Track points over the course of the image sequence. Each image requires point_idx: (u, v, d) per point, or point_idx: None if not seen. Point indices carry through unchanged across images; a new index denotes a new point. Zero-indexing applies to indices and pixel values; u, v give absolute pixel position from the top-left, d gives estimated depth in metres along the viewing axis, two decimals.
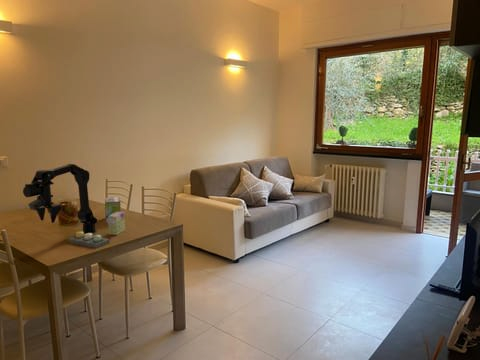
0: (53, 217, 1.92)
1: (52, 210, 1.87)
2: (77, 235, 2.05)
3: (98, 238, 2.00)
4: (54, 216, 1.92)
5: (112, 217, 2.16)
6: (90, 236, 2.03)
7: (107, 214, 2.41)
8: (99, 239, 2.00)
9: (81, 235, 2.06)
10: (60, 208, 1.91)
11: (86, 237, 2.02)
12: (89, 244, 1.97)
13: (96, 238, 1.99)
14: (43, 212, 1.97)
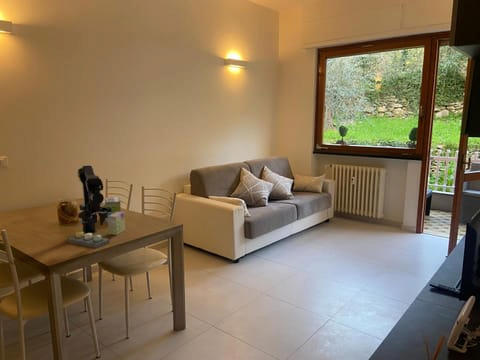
0: (89, 223, 1.96)
1: None
2: (77, 235, 2.05)
3: (98, 238, 2.00)
4: (89, 223, 1.95)
5: (112, 217, 2.16)
6: (90, 236, 2.03)
7: (107, 214, 2.41)
8: (99, 239, 2.00)
9: (81, 235, 2.06)
10: (84, 217, 1.90)
11: (86, 237, 2.02)
12: (89, 244, 1.97)
13: (96, 238, 1.99)
14: (102, 218, 2.02)
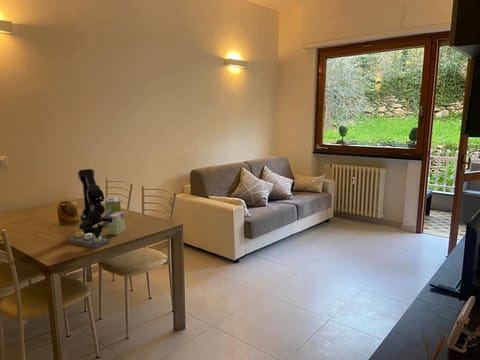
0: (94, 232, 2.00)
1: None
2: (77, 235, 2.05)
3: (98, 240, 2.00)
4: (95, 232, 1.99)
5: (112, 217, 2.16)
6: (90, 236, 2.03)
7: (107, 214, 2.41)
8: (99, 241, 2.00)
9: (81, 235, 2.06)
10: (85, 228, 1.91)
11: (86, 237, 2.02)
12: (89, 244, 1.97)
13: (96, 240, 1.99)
14: None
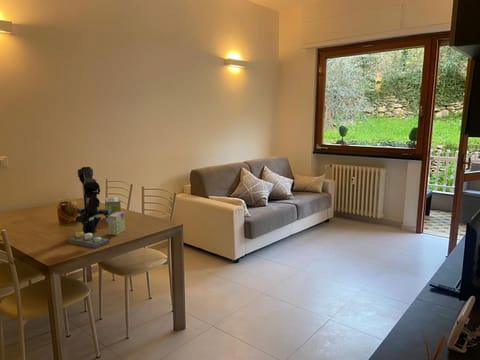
0: (91, 225, 2.00)
1: None
2: (77, 235, 2.05)
3: (98, 240, 2.00)
4: (91, 225, 2.00)
5: (112, 217, 2.16)
6: (90, 236, 2.03)
7: None
8: (99, 241, 2.00)
9: (81, 235, 2.06)
10: (81, 221, 1.91)
11: (86, 237, 2.02)
12: (89, 244, 1.97)
13: (96, 240, 1.99)
14: (95, 223, 2.01)
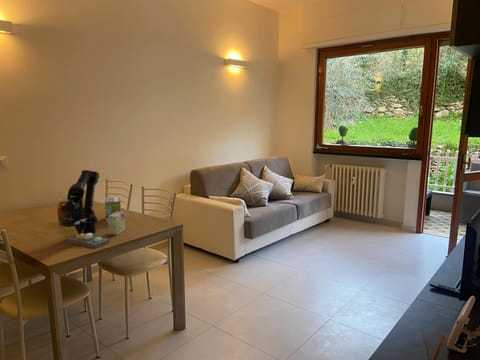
0: (77, 229, 2.06)
1: None
2: (77, 237, 2.05)
3: (98, 240, 2.00)
4: (77, 229, 2.05)
5: (112, 217, 2.16)
6: (90, 236, 2.03)
7: (107, 214, 2.41)
8: (99, 241, 2.00)
9: (81, 237, 2.06)
10: (67, 225, 1.97)
11: (86, 237, 2.02)
12: (89, 244, 1.97)
13: (96, 240, 1.99)
14: (81, 227, 2.06)
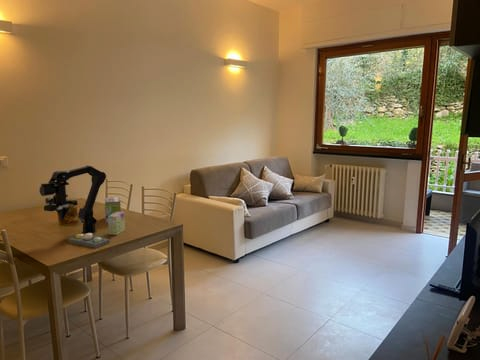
0: (59, 214, 2.06)
1: (44, 209, 1.99)
2: (77, 237, 2.05)
3: (98, 240, 2.00)
4: (60, 214, 2.05)
5: (112, 217, 2.16)
6: (90, 236, 2.03)
7: (107, 214, 2.41)
8: (99, 241, 2.00)
9: (81, 237, 2.06)
10: (49, 209, 1.97)
11: (86, 237, 2.02)
12: (89, 244, 1.97)
13: (96, 240, 1.99)
14: None
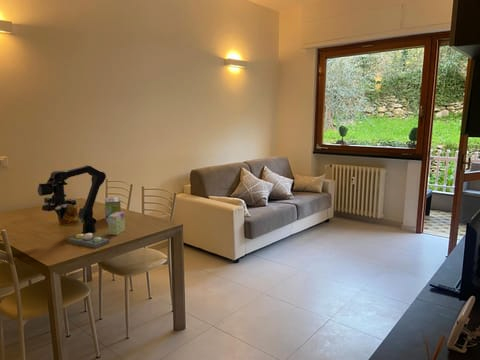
0: (58, 214, 2.06)
1: (42, 208, 1.99)
2: (77, 237, 2.05)
3: (98, 240, 2.00)
4: (58, 214, 2.06)
5: (112, 217, 2.16)
6: (90, 236, 2.03)
7: (107, 214, 2.41)
8: (99, 241, 2.00)
9: (81, 237, 2.06)
10: (47, 209, 1.97)
11: (86, 237, 2.02)
12: (89, 244, 1.97)
13: (96, 240, 1.99)
14: (62, 212, 2.07)
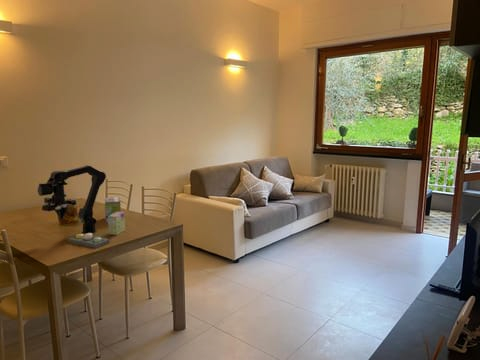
0: (58, 214, 2.06)
1: (42, 208, 1.99)
2: (77, 237, 2.05)
3: (98, 240, 2.00)
4: (58, 214, 2.06)
5: (112, 217, 2.16)
6: (90, 236, 2.03)
7: (107, 214, 2.41)
8: (99, 241, 2.00)
9: (81, 237, 2.06)
10: (47, 209, 1.97)
11: (86, 237, 2.02)
12: (89, 244, 1.97)
13: (96, 240, 1.99)
14: (62, 212, 2.07)
